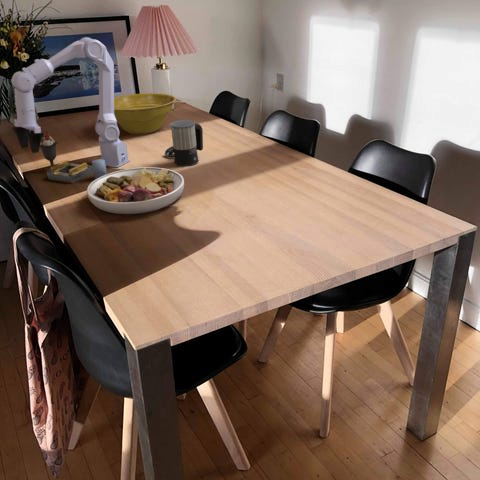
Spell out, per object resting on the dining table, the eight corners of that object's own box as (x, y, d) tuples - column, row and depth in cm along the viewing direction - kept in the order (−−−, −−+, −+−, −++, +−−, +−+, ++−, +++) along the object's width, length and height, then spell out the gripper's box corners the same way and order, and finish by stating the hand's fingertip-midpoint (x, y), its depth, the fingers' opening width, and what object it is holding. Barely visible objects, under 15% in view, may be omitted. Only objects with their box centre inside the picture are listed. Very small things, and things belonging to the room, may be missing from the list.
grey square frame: (93, 172, 183) (91, 162, 181) (72, 183, 174) (69, 172, 173) (69, 168, 187) (67, 158, 186) (48, 179, 179) (45, 168, 177)
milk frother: (192, 167, 184) (189, 127, 177) (153, 164, 189) (148, 125, 182) (207, 155, 196) (204, 117, 189) (170, 152, 200) (166, 115, 193)
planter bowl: (117, 121, 245) (112, 93, 239) (183, 119, 243) (180, 91, 237) (98, 142, 217) (92, 110, 210) (172, 140, 215) (169, 108, 209)
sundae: (57, 173, 184) (48, 132, 177) (40, 172, 185) (31, 132, 178) (66, 167, 190) (57, 127, 183) (49, 166, 191) (41, 127, 184)
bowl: (85, 189, 170) (80, 167, 166) (172, 175, 178) (170, 154, 175) (95, 226, 145) (90, 201, 141) (196, 207, 153) (194, 183, 150)
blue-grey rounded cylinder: (110, 176, 179) (107, 160, 176) (102, 180, 176) (99, 164, 173) (100, 174, 181) (97, 158, 178) (92, 179, 177) (89, 162, 175)
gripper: (3, 107, 170) (8, 146, 176) (24, 114, 162) (29, 156, 167) (24, 105, 175) (28, 144, 181) (45, 112, 167) (48, 153, 172)
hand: (29, 149), depth 174 cm, fingers open, 7 cm apart
